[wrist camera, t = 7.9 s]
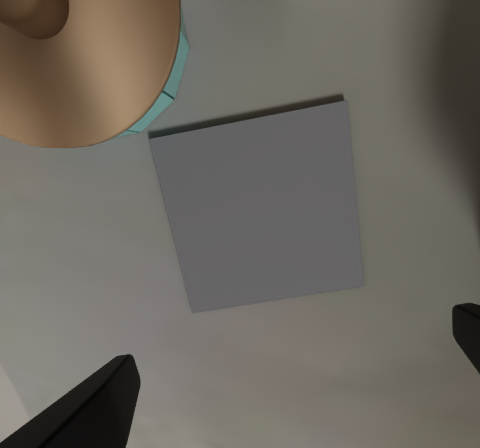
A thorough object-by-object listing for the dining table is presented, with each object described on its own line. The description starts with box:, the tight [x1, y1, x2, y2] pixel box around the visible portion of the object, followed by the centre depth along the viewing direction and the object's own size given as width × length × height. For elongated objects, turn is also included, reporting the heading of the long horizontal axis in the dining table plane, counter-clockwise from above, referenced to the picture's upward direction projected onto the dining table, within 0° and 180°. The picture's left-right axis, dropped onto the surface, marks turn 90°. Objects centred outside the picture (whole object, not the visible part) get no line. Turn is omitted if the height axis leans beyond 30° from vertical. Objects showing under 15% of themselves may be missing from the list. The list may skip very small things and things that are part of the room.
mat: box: [149, 100, 364, 313], centre depth 20 cm, size 12×12×1 cm
